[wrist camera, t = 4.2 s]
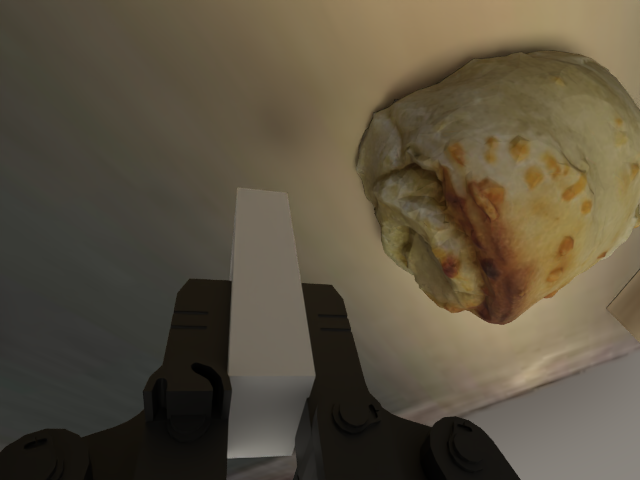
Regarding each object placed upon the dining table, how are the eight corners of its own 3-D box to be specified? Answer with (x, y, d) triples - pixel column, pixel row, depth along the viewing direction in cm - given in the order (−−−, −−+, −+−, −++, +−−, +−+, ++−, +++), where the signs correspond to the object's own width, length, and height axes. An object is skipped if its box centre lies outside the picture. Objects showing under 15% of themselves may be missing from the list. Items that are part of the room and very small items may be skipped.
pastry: (302, 192, 20) (327, 307, 14) (497, -44, 15) (672, -30, 9) (469, 293, 27) (538, 403, 21) (645, 151, 22) (806, 238, 16)
